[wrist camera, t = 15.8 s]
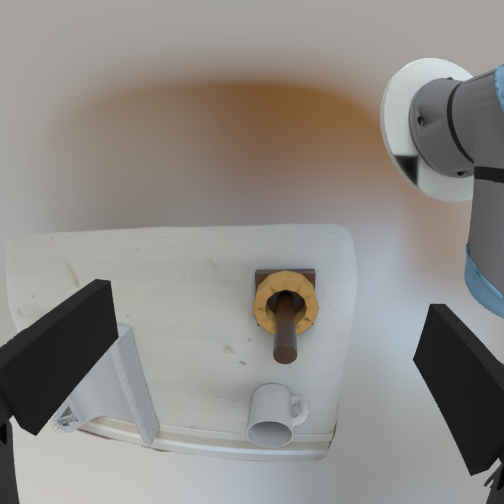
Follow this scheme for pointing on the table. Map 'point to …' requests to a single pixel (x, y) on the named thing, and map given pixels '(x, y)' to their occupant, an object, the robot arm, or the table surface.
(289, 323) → the stand
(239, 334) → the table surface
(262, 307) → the tape roll
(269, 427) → the cup
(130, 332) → the skate ramp
